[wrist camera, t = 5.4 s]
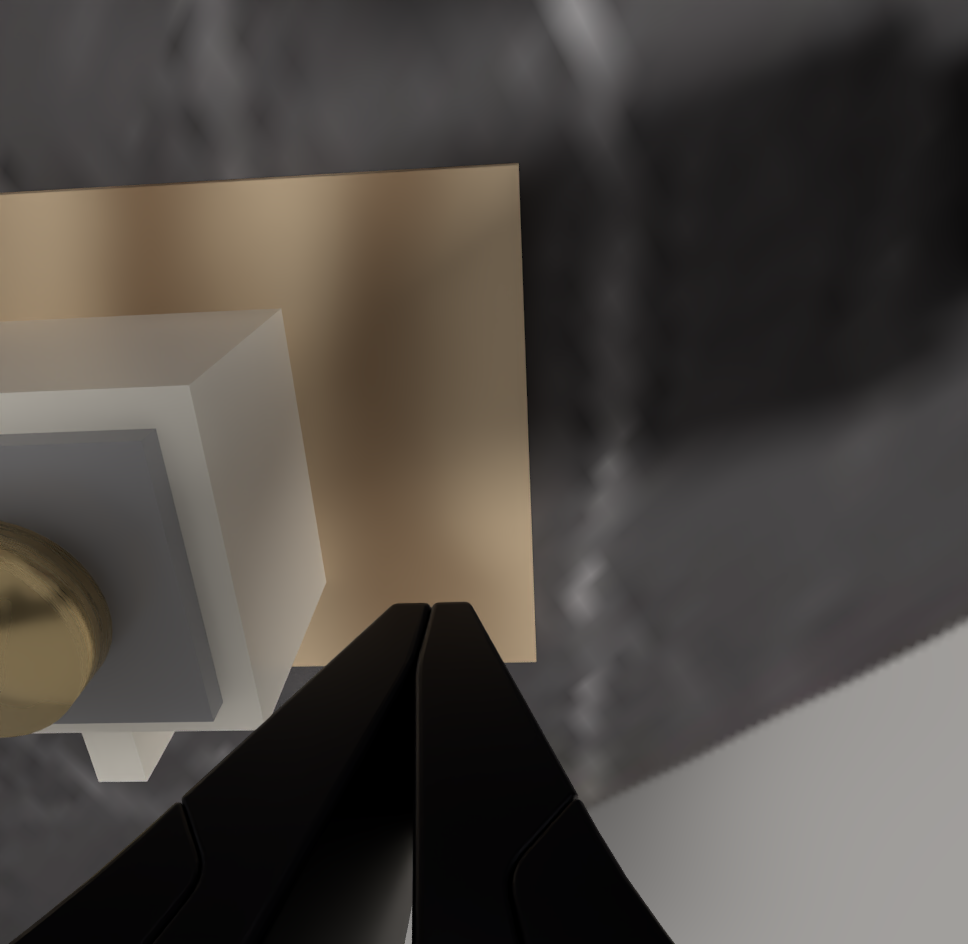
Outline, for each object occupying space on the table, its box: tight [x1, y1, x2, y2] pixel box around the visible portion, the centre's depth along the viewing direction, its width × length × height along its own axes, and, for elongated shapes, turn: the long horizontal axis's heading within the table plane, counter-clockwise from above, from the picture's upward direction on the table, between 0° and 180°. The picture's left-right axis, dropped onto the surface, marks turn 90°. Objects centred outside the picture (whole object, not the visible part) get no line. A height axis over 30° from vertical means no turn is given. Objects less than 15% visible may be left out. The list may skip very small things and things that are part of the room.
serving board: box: [0, 163, 536, 667], centre depth 22 cm, size 20×14×1 cm
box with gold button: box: [0, 308, 326, 782], centre depth 19 cm, size 8×10×7 cm
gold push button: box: [0, 521, 113, 737], centre depth 17 cm, size 5×5×7 cm
